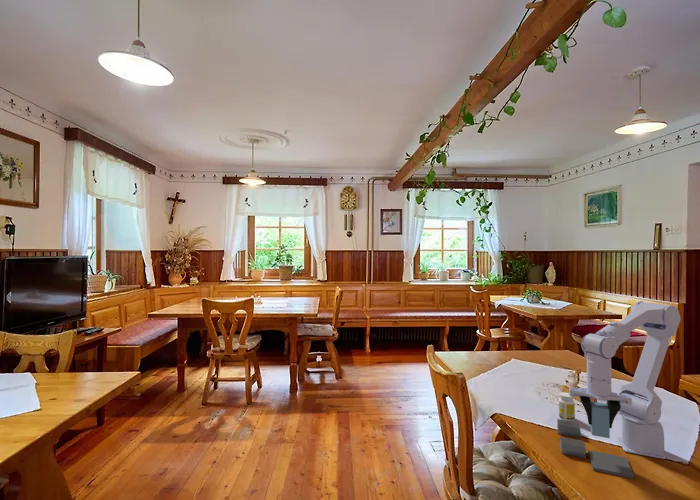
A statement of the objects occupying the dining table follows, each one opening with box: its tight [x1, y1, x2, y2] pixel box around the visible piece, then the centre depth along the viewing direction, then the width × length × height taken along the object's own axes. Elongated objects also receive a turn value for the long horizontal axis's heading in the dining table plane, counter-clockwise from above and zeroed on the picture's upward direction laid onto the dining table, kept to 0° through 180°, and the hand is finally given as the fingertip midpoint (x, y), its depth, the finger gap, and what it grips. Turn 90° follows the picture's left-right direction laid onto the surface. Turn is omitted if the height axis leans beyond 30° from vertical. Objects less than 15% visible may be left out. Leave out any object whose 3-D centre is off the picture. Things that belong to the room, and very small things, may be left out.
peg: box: [589, 401, 611, 439], centre depth 102 cm, size 4×4×8 cm
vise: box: [556, 418, 587, 459], centre depth 112 cm, size 6×19×3 cm, turn 154°
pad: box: [587, 449, 635, 480], centre depth 99 cm, size 9×9×1 cm
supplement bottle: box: [558, 391, 576, 422], centre depth 126 cm, size 5×5×8 cm
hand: (599, 424), depth 102 cm, fingers closed on peg, 4 cm apart
